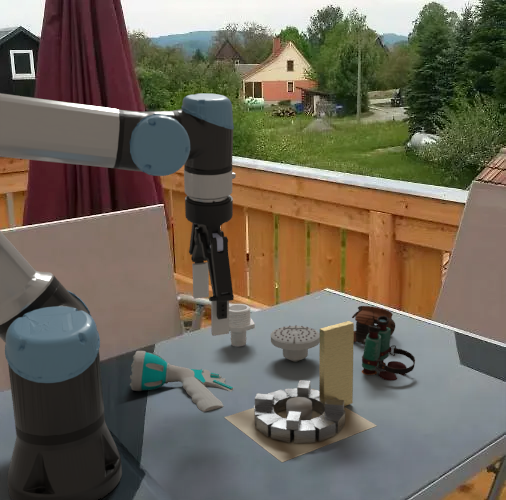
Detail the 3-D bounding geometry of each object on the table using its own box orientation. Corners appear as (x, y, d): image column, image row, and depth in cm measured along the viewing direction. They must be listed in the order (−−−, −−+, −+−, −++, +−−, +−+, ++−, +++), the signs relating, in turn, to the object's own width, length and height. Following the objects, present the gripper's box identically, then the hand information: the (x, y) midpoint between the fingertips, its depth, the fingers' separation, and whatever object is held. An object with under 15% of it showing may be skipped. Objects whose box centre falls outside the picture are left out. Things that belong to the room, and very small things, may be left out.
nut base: (282, 469, 93) (281, 441, 92) (224, 424, 106) (223, 398, 105) (376, 432, 103) (377, 406, 102) (313, 394, 116) (313, 371, 115)
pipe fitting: (216, 344, 140) (214, 308, 138) (241, 335, 144) (240, 300, 143) (235, 352, 135) (234, 315, 133) (261, 343, 140) (260, 307, 138)
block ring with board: (289, 452, 95) (288, 361, 92) (237, 414, 106) (235, 332, 103) (379, 418, 104) (381, 334, 101) (323, 386, 116) (323, 310, 112)
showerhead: (268, 339, 122) (272, 320, 132) (269, 375, 124) (272, 354, 134) (319, 340, 121) (319, 321, 131) (319, 376, 123) (319, 355, 133)
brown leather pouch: (338, 340, 142) (346, 303, 144) (370, 351, 146) (378, 315, 148) (375, 343, 132) (384, 303, 134) (409, 355, 136) (417, 316, 138)
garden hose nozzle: (257, 385, 112) (209, 336, 128) (159, 400, 104) (122, 345, 120) (252, 423, 114) (206, 369, 131) (155, 440, 106) (119, 380, 122)
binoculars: (411, 340, 114) (357, 325, 119) (403, 395, 117) (351, 378, 122) (427, 324, 121) (375, 310, 126) (419, 376, 124) (369, 361, 129)
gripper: (255, 219, 95) (253, 348, 103) (212, 172, 116) (213, 281, 125) (204, 223, 92) (205, 355, 101) (170, 175, 114) (174, 286, 123)
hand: (210, 314), depth 113 cm, fingers open, 13 cm apart
